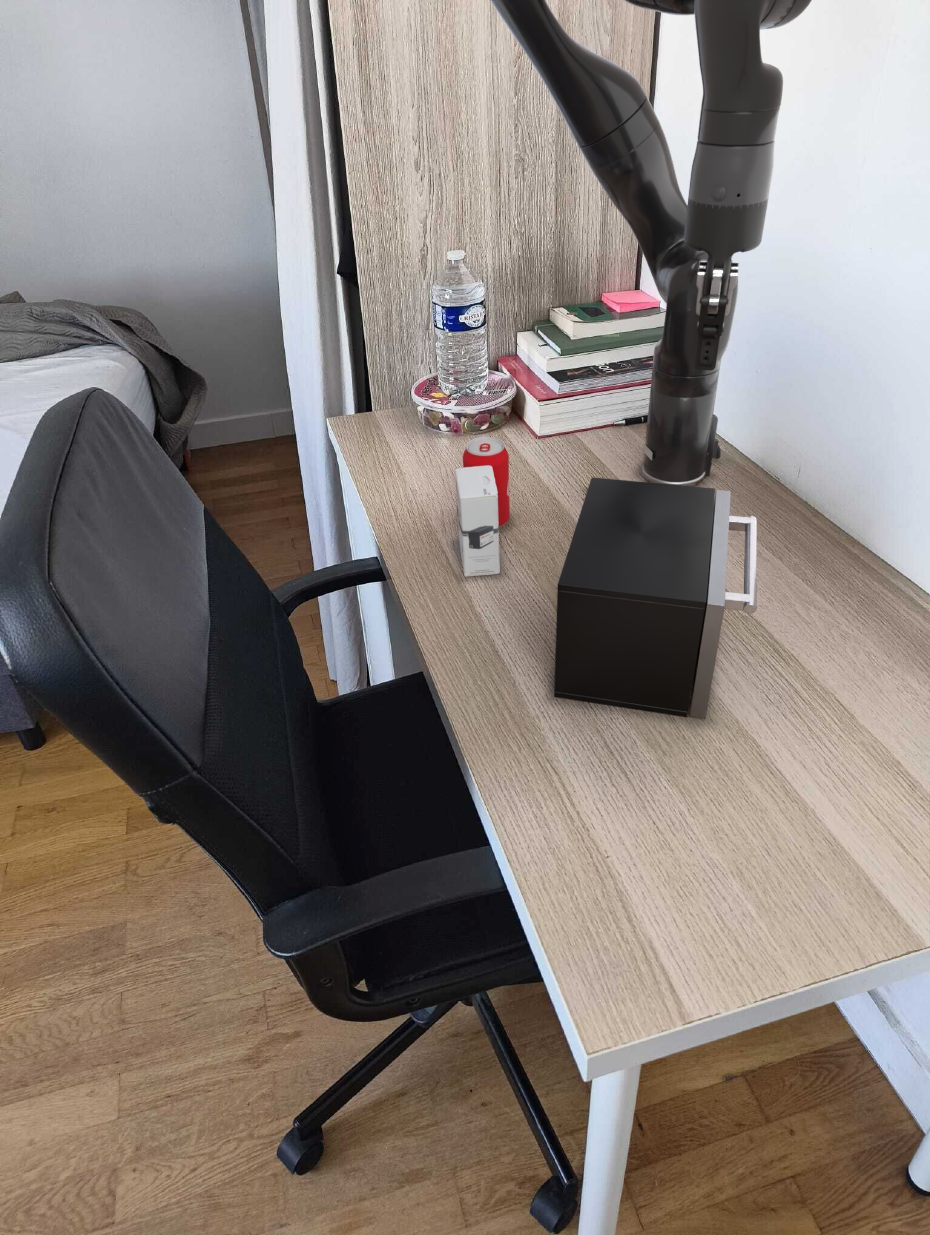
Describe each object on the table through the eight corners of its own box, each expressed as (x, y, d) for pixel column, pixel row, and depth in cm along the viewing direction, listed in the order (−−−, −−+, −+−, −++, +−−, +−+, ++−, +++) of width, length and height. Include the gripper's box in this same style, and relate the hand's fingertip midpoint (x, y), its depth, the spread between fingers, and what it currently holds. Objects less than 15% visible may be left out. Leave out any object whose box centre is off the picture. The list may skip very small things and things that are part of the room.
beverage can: (510, 511, 122) (510, 434, 115) (508, 533, 117) (507, 455, 110) (468, 510, 123) (464, 434, 115) (463, 533, 118) (459, 455, 110)
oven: (698, 595, 104) (715, 488, 95) (686, 717, 87) (706, 602, 78) (585, 581, 107) (591, 477, 98) (553, 697, 91) (557, 584, 81)
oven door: (740, 599, 103) (759, 493, 94) (736, 724, 86) (759, 609, 77) (700, 594, 104) (716, 489, 95) (689, 717, 87) (707, 603, 78)
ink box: (458, 542, 116) (453, 466, 109) (493, 540, 116) (491, 463, 109) (463, 578, 109) (458, 498, 102) (500, 575, 109) (499, 495, 102)
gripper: (769, 209, 75) (739, 393, 86) (768, 179, 85) (741, 348, 96) (684, 208, 77) (664, 389, 88) (692, 179, 87) (674, 344, 98)
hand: (704, 367), depth 92 cm, fingers closed
